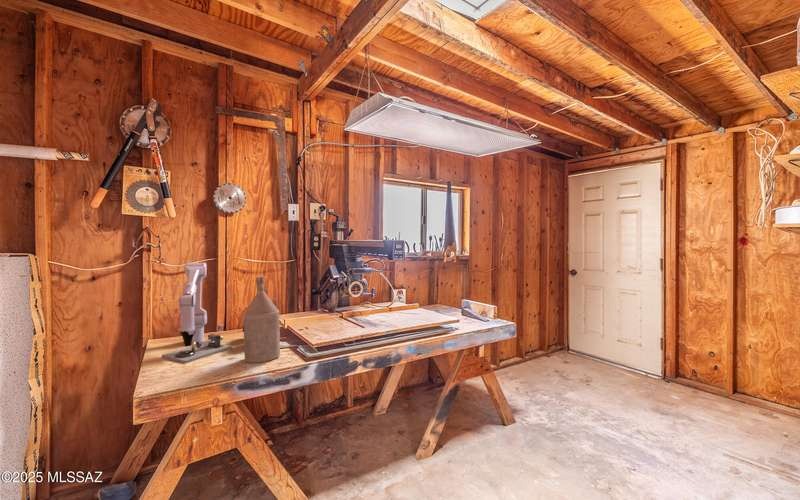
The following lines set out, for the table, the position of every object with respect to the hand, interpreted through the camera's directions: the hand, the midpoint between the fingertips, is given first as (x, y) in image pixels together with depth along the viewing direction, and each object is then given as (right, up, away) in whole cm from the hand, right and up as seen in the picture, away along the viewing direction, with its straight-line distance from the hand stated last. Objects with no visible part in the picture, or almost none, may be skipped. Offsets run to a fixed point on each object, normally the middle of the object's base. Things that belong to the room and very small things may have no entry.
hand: (187, 346), depth 166 cm
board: (+4, -4, +1) cm, 6 cm away
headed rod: (+8, -1, +6) cm, 10 cm away
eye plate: (+9, -3, +8) cm, 12 cm away
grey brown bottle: (+40, -4, -5) cm, 40 cm away
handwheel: (+2, -3, -5) cm, 6 cm away
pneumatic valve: (+19, -4, +24) cm, 31 cm away
